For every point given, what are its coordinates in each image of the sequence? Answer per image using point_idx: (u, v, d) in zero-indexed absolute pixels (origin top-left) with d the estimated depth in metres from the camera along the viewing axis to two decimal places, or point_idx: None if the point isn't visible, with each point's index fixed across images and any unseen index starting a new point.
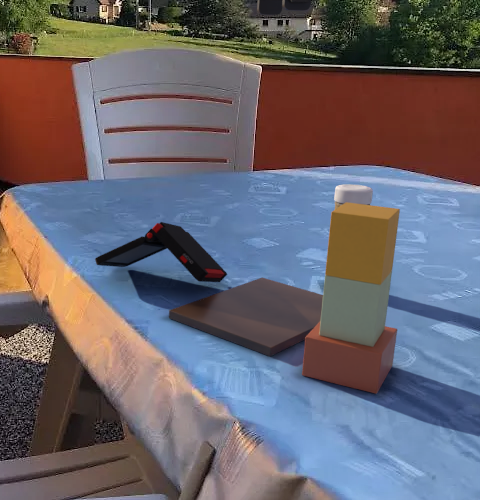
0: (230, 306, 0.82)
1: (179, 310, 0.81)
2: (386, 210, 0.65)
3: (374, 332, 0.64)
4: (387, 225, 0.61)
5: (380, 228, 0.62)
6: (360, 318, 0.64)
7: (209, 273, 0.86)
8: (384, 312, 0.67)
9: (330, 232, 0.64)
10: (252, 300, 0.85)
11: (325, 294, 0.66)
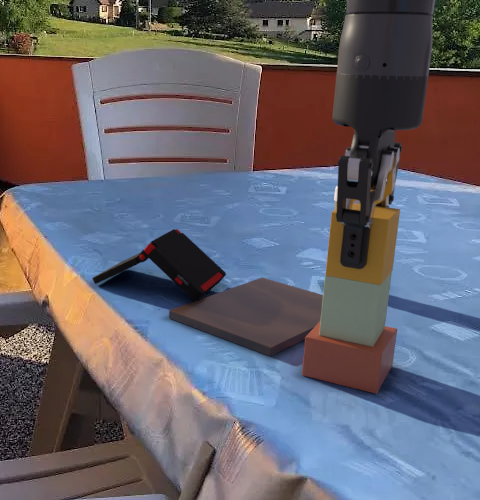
0: (230, 306, 0.82)
1: (179, 310, 0.81)
2: (386, 210, 0.64)
3: (374, 332, 0.64)
4: (387, 225, 0.61)
5: (380, 228, 0.62)
6: (360, 318, 0.64)
7: (206, 289, 0.86)
8: (384, 312, 0.67)
9: (330, 232, 0.64)
10: (252, 300, 0.85)
11: (325, 294, 0.66)
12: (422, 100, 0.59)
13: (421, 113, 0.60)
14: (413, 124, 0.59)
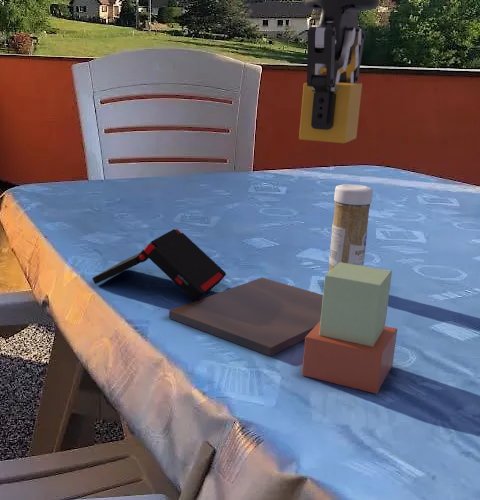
0: (230, 306, 0.82)
1: (179, 310, 0.81)
2: (350, 83, 0.76)
3: (374, 332, 0.64)
4: (349, 90, 0.73)
5: (344, 93, 0.74)
6: (360, 318, 0.64)
7: (206, 289, 0.86)
8: (384, 312, 0.67)
9: (303, 101, 0.76)
10: (252, 300, 0.85)
11: (325, 294, 0.66)
12: None
13: None
14: (370, 2, 0.71)
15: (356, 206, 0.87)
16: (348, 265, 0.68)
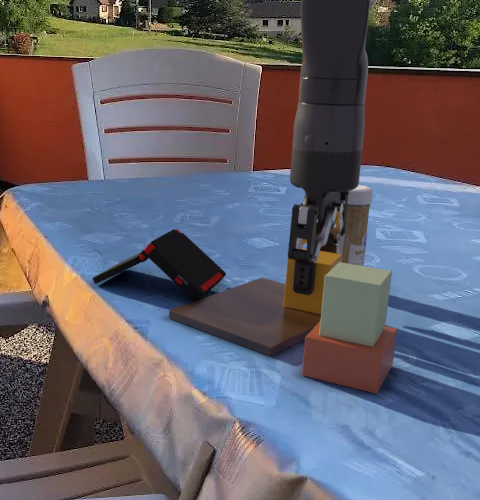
0: (230, 306, 0.82)
1: (179, 310, 0.81)
2: (331, 256, 0.82)
3: (374, 332, 0.64)
4: (330, 269, 0.79)
5: (324, 271, 0.79)
6: (360, 318, 0.64)
7: (206, 289, 0.86)
8: (384, 312, 0.67)
9: (287, 273, 0.81)
10: (252, 300, 0.85)
11: (325, 294, 0.66)
12: (357, 168, 0.77)
13: (357, 178, 0.77)
14: (350, 187, 0.76)
15: (356, 206, 0.87)
16: (348, 265, 0.68)
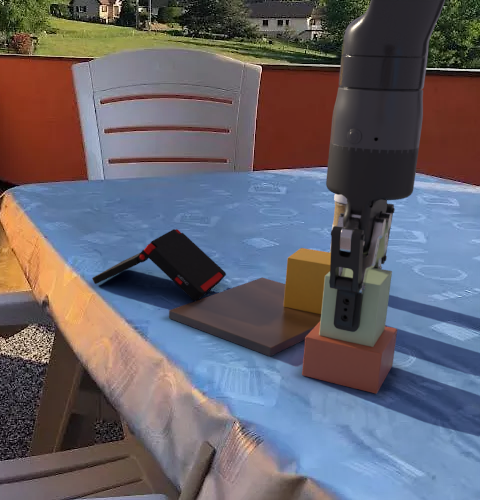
0: (230, 306, 0.82)
1: (179, 310, 0.81)
2: None
3: (374, 332, 0.64)
4: None
5: (324, 271, 0.79)
6: (360, 318, 0.64)
7: (206, 289, 0.86)
8: (384, 312, 0.67)
9: (287, 273, 0.81)
10: (252, 300, 0.85)
11: (325, 294, 0.66)
12: (413, 171, 0.61)
13: (412, 183, 0.61)
14: (404, 194, 0.61)
15: None
16: None
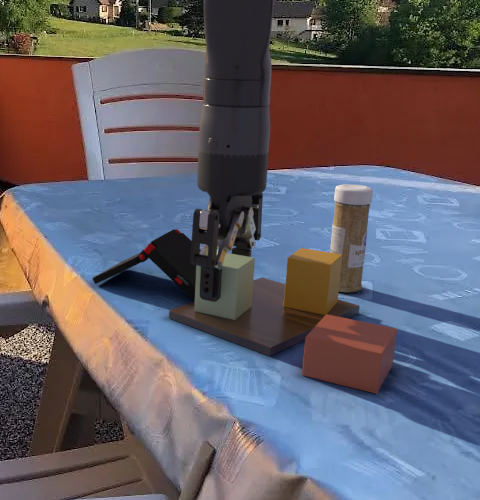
0: None
1: (179, 310, 0.81)
2: (331, 256, 0.82)
3: (235, 308, 0.78)
4: (330, 269, 0.79)
5: (324, 271, 0.79)
6: (224, 296, 0.78)
7: None
8: (248, 292, 0.81)
9: (287, 273, 0.81)
10: (252, 300, 0.85)
11: (197, 277, 0.79)
12: (262, 172, 0.75)
13: (262, 182, 0.75)
14: (254, 191, 0.74)
15: (356, 206, 0.87)
16: None
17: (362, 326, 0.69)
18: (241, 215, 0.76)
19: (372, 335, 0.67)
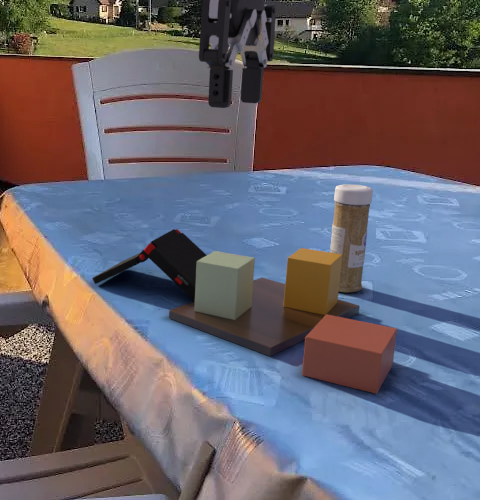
0: None
1: (179, 310, 0.81)
2: (331, 256, 0.82)
3: (235, 308, 0.78)
4: (330, 269, 0.79)
5: (324, 271, 0.79)
6: (224, 296, 0.78)
7: None
8: (248, 292, 0.81)
9: (287, 273, 0.81)
10: (252, 300, 0.85)
11: (197, 277, 0.79)
12: None
13: None
14: None
15: (356, 206, 0.87)
16: (220, 253, 0.82)
17: (362, 326, 0.69)
18: (254, 13, 0.70)
19: (372, 335, 0.67)
